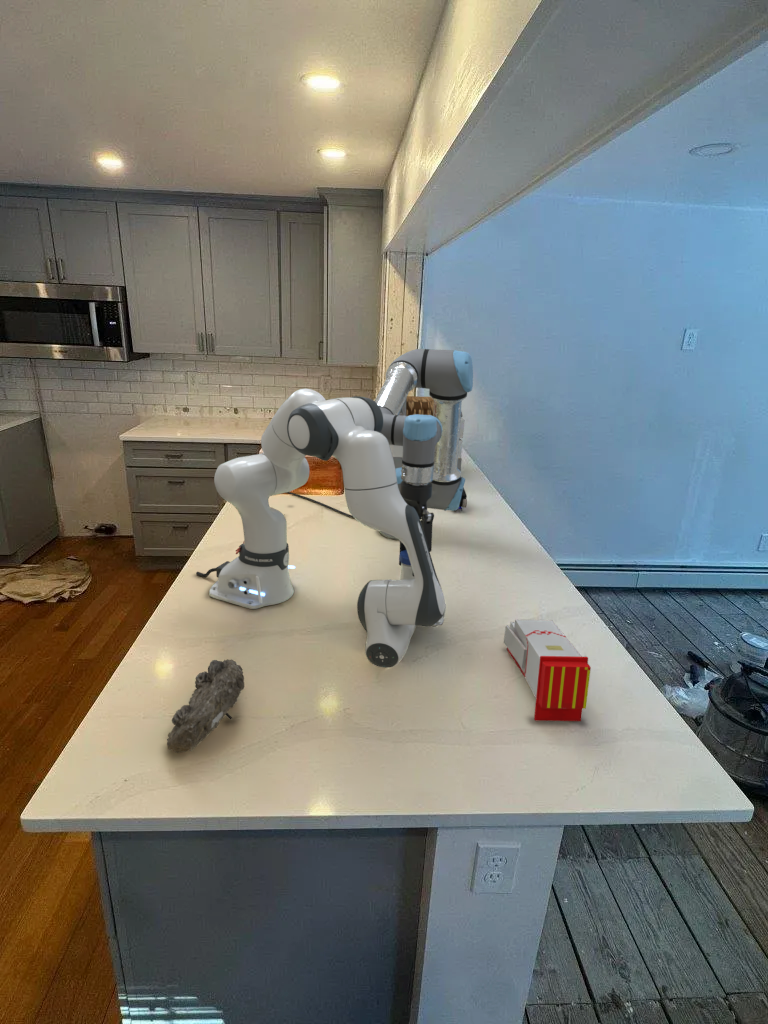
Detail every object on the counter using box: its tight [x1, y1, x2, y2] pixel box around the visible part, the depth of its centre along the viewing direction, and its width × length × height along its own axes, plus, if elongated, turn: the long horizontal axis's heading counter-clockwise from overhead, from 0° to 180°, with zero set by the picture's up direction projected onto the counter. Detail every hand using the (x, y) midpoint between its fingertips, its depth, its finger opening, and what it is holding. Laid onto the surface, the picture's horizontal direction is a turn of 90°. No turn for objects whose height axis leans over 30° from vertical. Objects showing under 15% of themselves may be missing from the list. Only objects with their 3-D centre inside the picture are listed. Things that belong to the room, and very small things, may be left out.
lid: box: [398, 550, 411, 565], centre depth 141 cm, size 6×6×2 cm
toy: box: [503, 618, 592, 722], centre depth 122 cm, size 12×13×30 cm
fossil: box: [166, 658, 245, 754], centre depth 106 cm, size 22×10×15 cm
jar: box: [399, 563, 415, 580], centre depth 144 cm, size 5×5×17 cm
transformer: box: [389, 395, 465, 472], centre depth 268 cm, size 34×33×41 cm
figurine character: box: [457, 487, 468, 512], centre depth 228 cm, size 7×8×15 cm
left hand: (409, 592), depth 145 cm, fingers closed on jar, 5 cm apart
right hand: (410, 569), depth 142 cm, fingers closed on lid, 6 cm apart
